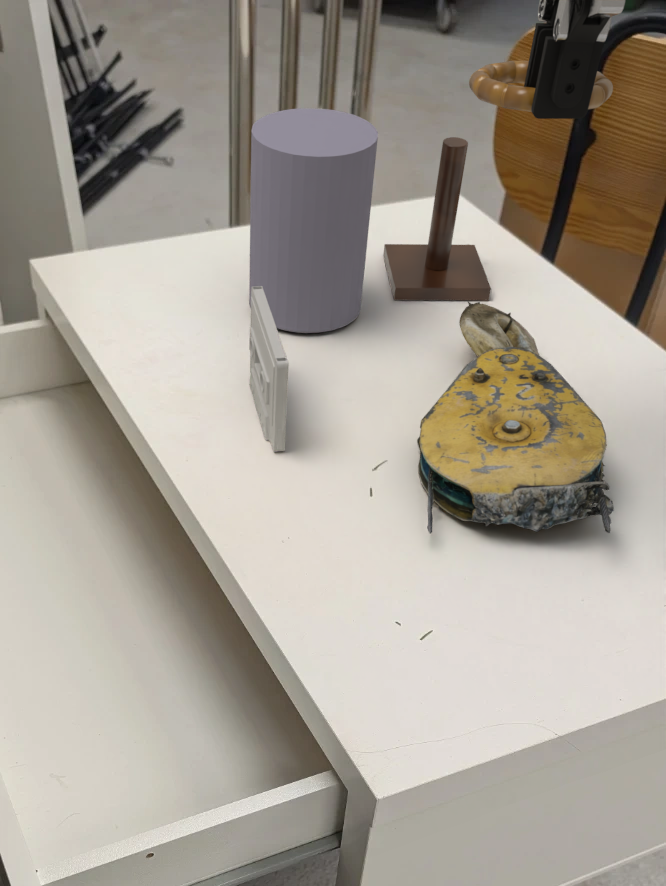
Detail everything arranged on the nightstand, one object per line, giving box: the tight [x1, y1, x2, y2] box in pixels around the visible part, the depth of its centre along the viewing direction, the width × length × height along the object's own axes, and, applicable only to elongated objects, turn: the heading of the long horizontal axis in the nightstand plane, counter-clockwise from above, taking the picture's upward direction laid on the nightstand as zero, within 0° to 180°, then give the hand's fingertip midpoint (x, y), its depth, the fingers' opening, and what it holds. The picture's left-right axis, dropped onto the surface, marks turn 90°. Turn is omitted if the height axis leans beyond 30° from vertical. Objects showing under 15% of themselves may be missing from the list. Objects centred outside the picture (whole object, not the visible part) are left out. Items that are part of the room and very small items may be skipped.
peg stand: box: [382, 136, 492, 301], centre depth 94 cm, size 9×9×12 cm
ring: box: [468, 60, 614, 113], centre depth 63 cm, size 8×8×1 cm
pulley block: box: [416, 301, 615, 535], centre depth 80 cm, size 14×6×30 cm
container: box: [248, 107, 379, 334], centre depth 89 cm, size 10×10×15 cm
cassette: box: [248, 286, 290, 453], centre depth 80 cm, size 12×2×8 cm, turn 9°
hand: (553, 107), depth 60 cm, fingers closed on ring, 1 cm apart
